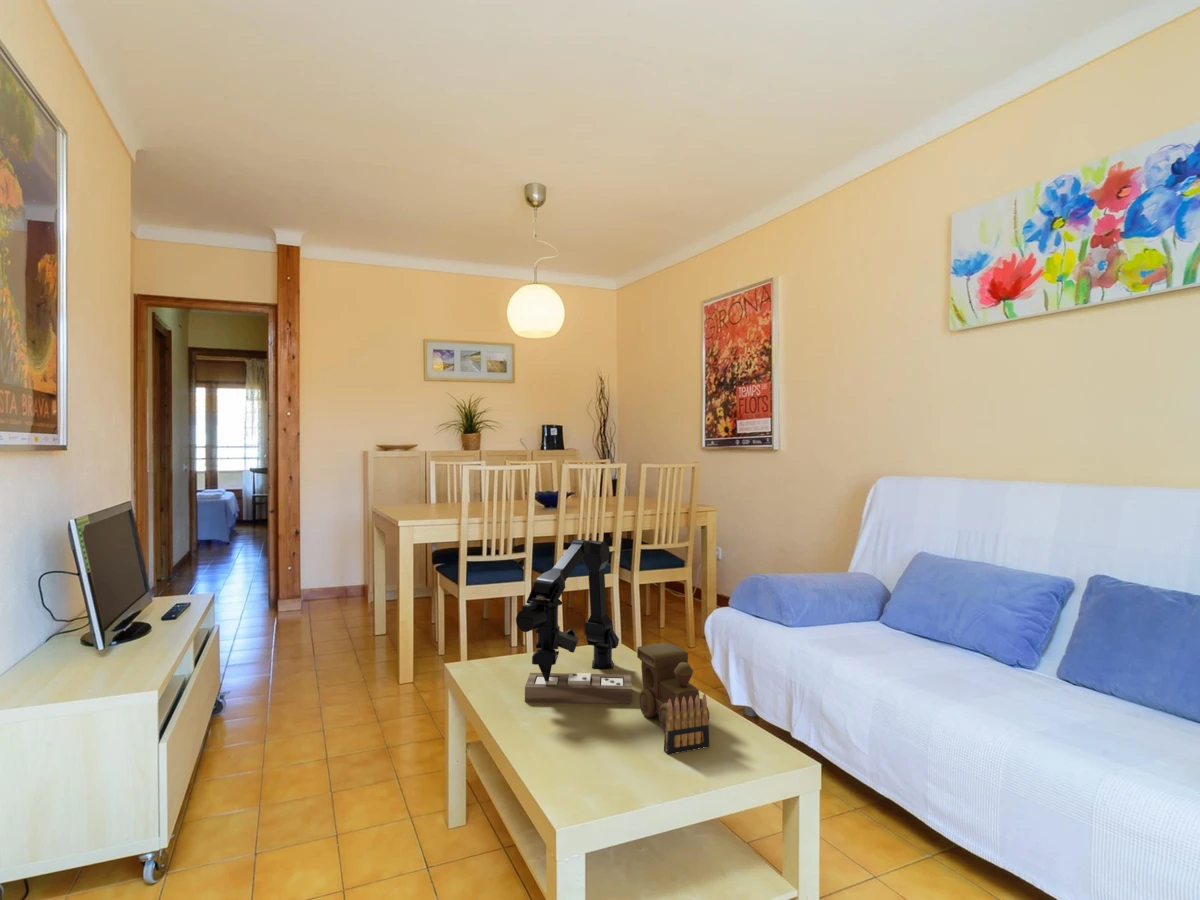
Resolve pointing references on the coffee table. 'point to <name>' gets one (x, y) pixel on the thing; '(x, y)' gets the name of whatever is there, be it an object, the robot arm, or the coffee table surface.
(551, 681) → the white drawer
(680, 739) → the ammunition clip
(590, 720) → the coffee table surface
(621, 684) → the three dot tile
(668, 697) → the wooden toy train
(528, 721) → the coffee table surface
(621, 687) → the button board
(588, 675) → the two dot tile
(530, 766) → the coffee table surface
